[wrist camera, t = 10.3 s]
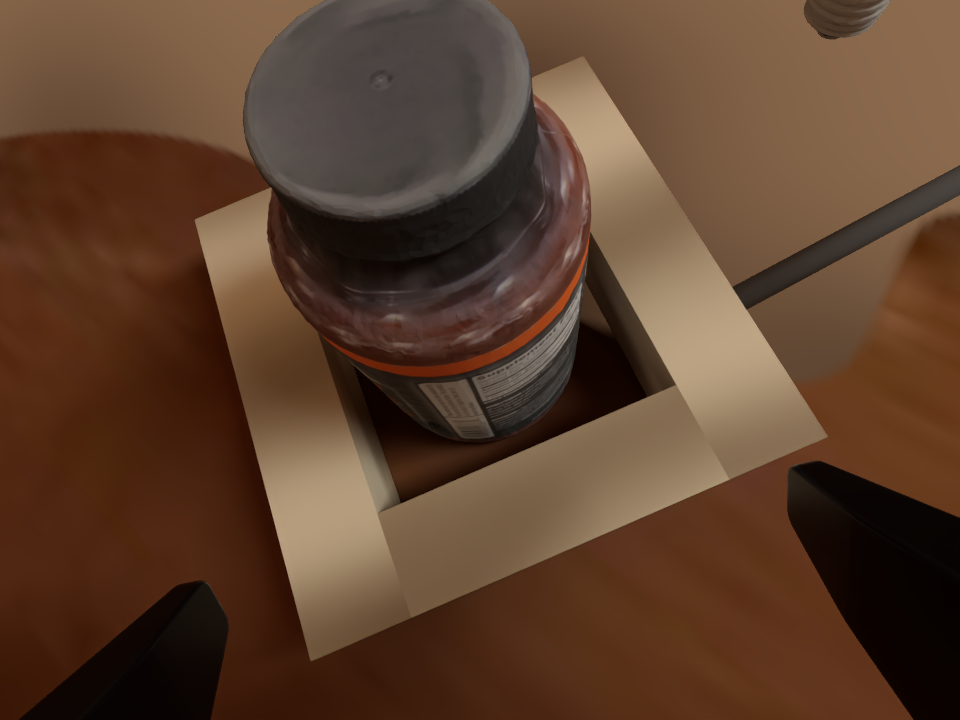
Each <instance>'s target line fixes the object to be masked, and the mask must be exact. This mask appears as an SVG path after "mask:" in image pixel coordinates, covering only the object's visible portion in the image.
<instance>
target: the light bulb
mask: <svg viewBox="0 0 960 720" xmlns="http://www.w3.org/2000/svg"><path fill="white" fill-rule="evenodd" d="M890 1H891V0H807V1H806V3H805V6H804V14H805V17H806V20H807V22H808V23H809V24H810V25H811V26H812V27H813V28H814V29H816V30H817V32H818V34H819V35H820V36H821V37H823V38H826V39H837V38H839V37H851V36H855V35H859V34H861V33H863V32H865V31H867V30H868V29H869V28H871V26H872V25H874V23H875V22H876V20H877V19H878V18H879V16H880V15H881V14H882V13H883V11H884V10H885V8H886V7H887V5H888V4H889V2H890Z"/></svg>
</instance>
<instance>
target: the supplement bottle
mask: <svg viewBox="0 0 960 720" xmlns="http://www.w3.org/2000/svg"><path fill="white" fill-rule="evenodd" d="M243 125H244V133H245V139H246V143H247V146H248V149H249V152H250V155H251V157H252V158H253V160H254V163H255V165H256V167H257V169H258V170H259V172H260V174H261V175H262V177H263V178H264V179H265V181H266V182H267V183H268V184H269V186H270V187H271V188H272V190H271V199H270V202H269V210H268V220H267V235H268V238H267V240H268V243H269V248H270V254H271V261H272V263H273V266H274V268H275V270H276V273H277V275H278V278H279V280H280V282H281V284H282V286H283V288H284V291H285V292H286V293H287V295H288V296H289V298H290V299H291V301H292V303H293V305H294V307H295V308H297V309H298V310H299V312H300V313H301V314H302V315H303V317H304V318H305V320H306V321H307V322H308V323H310V324H311V325H312V326H313V328H314V329H315V330H316V331H318V332H319V333H320V334H321V335H322V336H323V337H324V338H325V339H326V340H327V342H328V343H329V344H330V345H331V346H332V347H333V348H334V349H336V350H337V351H339V352H340V353H341V354H342V355H343V356H344V357H345V358H346V359H348V360H349V361H350V363H352V364H353V365H354V366H355V367H356V368H357V369H359V370H360V371H361V372H362V373H363V374H364V375H365V376H366V377H367V378H369V379H370V380H371V381H372V382H373V383H374V384H375V385H376V386H377V387H378V388H379V389H380V390H381V391H382V392H383V393H385V394H386V395H387V396H388V397H389V398H390V399H391V400H392V401H393V402H394V403H395V404H396V405H397V406H398V407H400V409H401V410H402V411H403V412H404V413H406V414H407V415H409V416H410V417H411V418H412V419H413V420H414V421H416V422H417V423H418V424H420V425H421V426H423V427H424V428H426V429H428V430H430V431H432V432H434V433H436V434H438V435H440V436H442V437H445V438H448V439H453V440H456V441H462V442H490V441H497V440H501V439H506V438H508V437H511V436H514V435H516V434H518V433H521V432H523V431H524V430H526V429H527V428H529V427H531V426H532V425H534V424H535V423H537V422H538V421H539V420H540V419H541V418H543V417H544V416H545V415H546V414H547V413H548V412H549V411H550V409H551V408H552V407H553V406H554V405H555V403H556V402H557V401H558V399H559V397H560V396H561V394H562V393H563V390H564V388H565V386H566V385H567V383H568V381H569V378H570V375H571V370H572V368H573V363H574V358H575V353H576V344H577V338H578V329H579V320H580V313H581V305H582V297H583V290H584V281H585V276H586V265H587V260H588V245H589V237H590V228H591V195H590V184H589V180H588V175H587V170H586V165H585V163H584V160H583V157H582V154H581V152H580V150H579V148H578V146H577V143H576V142H575V140H574V138H573V136H572V135H571V133H570V131H569V130H568V128H567V127H566V125H565V124H564V122H563V121H562V120H561V119H560V118H559V117H558V115H557V114H556V113H555V112H554V111H553V110H552V109H551V108H550V107H549V106H548V105H547V104H546V103H545V102H543V101H542V100H541V99H540V98H538V97H537V96H536V95H535V94H534V93H533V89H532V76H531V69H530V64H529V60H528V56H527V52H526V48H525V46H524V45H523V43H522V41H521V39H520V37H519V35H518V32H517V30H516V28H515V27H514V25H513V24H512V22H511V21H510V20H509V19H508V18H506V17H505V16H504V15H502V13H501V12H500V11H499V10H498V9H497V8H496V7H495V6H494V5H493V4H491V3H490V2H489V1H487V0H325V1H323V2H321V3H319V4H318V5H316V6H314V7H312V8H310V9H309V10H308V11H307V12H305V13H304V14H302V15H300V16H298V17H297V18H296V19H295V20H294V21H293V22H291V23H290V24H289V25H288V26H287V27H286V28H285V29H284V30H283V31H282V32H281V33H280V34H279V35H278V36H277V37H276V38H275V39H274V41H273V42H272V43H271V44H270V45H269V46H268V47H267V48H266V50H265V51H264V53H263V54H262V56H261V58H260V59H259V61H258V63H257V65H256V67H255V69H254V72H253V74H252V76H251V79H250V81H249V84H248V87H247V90H246V92H245V103H244V110H243Z"/></svg>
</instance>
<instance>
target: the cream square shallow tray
mask: <svg viewBox="0 0 960 720" xmlns="http://www.w3.org/2000/svg"><path fill="white" fill-rule="evenodd" d="M532 89H533V93H534V94H535V95H536V96H537V97H538V98H540V99H541V100H542V101H543V102H545V103H546V104H547V105H548V106H549V107H550V108H551V109H552V110H553V111H554V112H555V113H556V114H557V115H558V117H559V118H560V119H561V120H562V121H563V122H564V124H565V125H566V127H567V128H568V130H569V131H570V133H571V135H572V136H573V138H574V140H575V142H576V143H577V146H578V148H579V150H580V152H581V154H582V157H583V160H584V163H585V165H586V170H587V175H588V180H589V184H590V195H591V228H590V237H589V245H588V260H587V265H586V276H585V282H586V283H587V285H588V287H589V289H590V291H591V293H592V295H593V297H594V298H595V300H596V302H597V304H598V306H599V308H600V310H601V312H602V313H603V315H604V317H605V319H606V321H607V323H608V325H609V326H610V328H611V330H612V332H613V334H614V336H615V338H616V339H617V341H618V343H619V345H620V347H621V349H622V351H623V353H624V354H625V356H626V358H627V360H628V362H629V364H630V366H631V367H632V369H633V371H634V373H635V375H636V377H637V379H638V380H639V382H640V384H641V386H642V388H643V390H644V392H645V393H646V395H647V398H645V399H642V400H640V401H638V402H635V403H633V404H631V405H628V406H626V407H624V408H621V409H619V410H617V411H615V412H612V413H610V414H608V415H605V416H603V417H601V418H598V419H596V420H594V421H591V422H589V423H587V424H584V425H582V426H580V427H577V428H575V429H573V430H571V431H568V432H566V433H564V434H561V435H559V436H557V437H554V438H552V439H550V440H547V441H545V442H543V443H540V444H538V445H536V446H533V447H531V448H529V449H526V450H524V451H522V452H520V453H517V454H515V455H513V456H510V457H508V458H506V459H503V460H501V461H499V462H496V463H494V464H492V465H489V466H487V467H485V468H482V469H480V470H478V471H476V472H473V473H471V474H469V475H466V476H464V477H462V478H459V479H457V480H455V481H452V482H450V483H448V484H445V485H443V486H441V487H438V488H436V489H434V490H432V491H429V492H427V493H425V494H422V495H420V496H418V497H415V498H413V499H411V500H408V501H406V502H404V503H401V502H400V499H399V496H398V493H397V490H396V487H395V485H394V482H393V479H392V476H391V473H390V470H389V467H388V464H387V461H386V459H385V456H384V453H383V450H382V447H381V444H380V441H379V438H378V435H377V433H376V430H375V427H374V424H373V421H372V418H371V415H370V412H369V409H368V406H367V404H366V401H365V398H364V395H363V392H362V389H361V386H360V383H359V380H358V378H357V375H356V372H355V369H354V366H353V364H352V363H350V361H349V360H348V359H346V358H345V357H344V356H343V355H342V354H341V353H340V352H339V351H337V350H336V349H334V348H333V347H332V346H331V345H330V344H329V343H328V342H327V340H326V339H325V338H324V337H323V336H322V335H321V334H320V333H319V332H318V331H316V330H315V329H314V328H313V326H312V325H311V324H310V323H308V322H307V321H306V320H305V318H304V317H303V315H302V314H301V313H300V312H299V310H298V309H297V308H295V307H294V305H293V303H292V301H291V299H290V298H289V296H288V295H287V293H286V292H285V291H284V288H283V286H282V284H281V282H280V280H279V278H278V275H277V273H276V270H275V268H274V266H273V263H272V261H271V254H270V248H269V243H268V240H267V238H268V235H267V220H268V210H269V202H270V199H271V190H272V188H269V189H266V190H264V191H262V192H259V193H257V194H255V195H252V196H250V197H247V198H245V199H243V200H240V201H238V202H236V203H233V204H231V205H228V206H226V207H224V208H221V209H219V210H217V211H214V212H212V213H209V214H207V215H205V216H202V217H200V218H198V219H195V222H196V226H197V230H198V234H199V238H200V241H201V245H202V249H203V253H204V257H205V260H206V264H207V268H208V272H209V276H210V279H211V283H212V287H213V291H214V295H215V299H216V302H217V306H218V310H219V314H220V318H221V321H222V325H223V329H224V333H225V337H226V340H227V344H228V348H229V352H230V356H231V359H232V363H233V367H234V371H235V375H236V379H237V382H238V386H239V390H240V394H241V398H242V401H243V405H244V409H245V413H246V417H247V420H248V424H249V428H250V432H251V436H252V439H253V443H254V447H255V451H256V455H257V458H258V462H259V466H260V470H261V474H262V478H263V481H264V485H265V489H266V493H267V497H268V500H269V504H270V508H271V512H272V516H273V519H274V523H275V527H276V531H277V535H278V538H279V542H280V546H281V550H282V554H283V557H284V561H285V565H286V569H287V573H288V577H289V580H290V584H291V588H292V592H293V596H294V599H295V603H296V607H297V611H298V615H299V618H300V622H301V626H302V630H303V634H304V637H305V641H306V645H307V649H308V653H309V656H310V660H311V661H313V660H316V659H318V658H320V657H322V656H325V655H327V654H329V653H332V652H334V651H336V650H339V649H341V648H343V647H345V646H348V645H350V644H352V643H355V642H357V641H359V640H362V639H364V638H366V637H368V636H371V635H373V634H375V633H378V632H380V631H382V630H385V629H387V628H389V627H391V626H394V625H396V624H398V623H401V622H403V621H405V620H408V619H410V618H412V617H414V616H417V615H419V614H421V613H424V612H426V611H428V610H431V609H433V608H435V607H437V606H440V605H442V604H444V603H447V602H449V601H451V600H454V599H456V598H458V597H460V596H463V595H465V594H467V593H470V592H472V591H474V590H477V589H479V588H481V587H483V586H486V585H488V584H490V583H493V582H495V581H497V580H499V579H502V578H504V577H506V576H509V575H511V574H513V573H516V572H518V571H520V570H522V569H525V568H527V567H529V566H532V565H534V564H536V563H539V562H541V561H543V560H545V559H548V558H550V557H552V556H555V555H557V554H559V553H562V552H564V551H566V550H568V549H571V548H573V547H575V546H578V545H580V544H582V543H585V542H587V541H589V540H591V539H594V538H596V537H598V536H601V535H603V534H605V533H608V532H610V531H612V530H614V529H617V528H619V527H621V526H624V525H626V524H628V523H631V522H633V521H635V520H637V519H640V518H642V517H644V516H647V515H649V514H651V513H654V512H656V511H658V510H660V509H663V508H665V507H667V506H670V505H672V504H674V503H677V502H679V501H681V500H683V499H686V498H688V497H690V496H693V495H695V494H697V493H700V492H702V491H704V490H706V489H709V488H711V487H713V486H716V485H718V484H720V483H723V482H725V481H727V480H729V479H732V478H734V477H736V476H739V475H741V474H743V473H746V472H748V471H750V470H752V469H755V468H757V467H759V466H762V465H764V464H766V463H769V462H771V461H773V460H775V459H778V458H780V457H782V456H785V455H787V454H789V453H792V452H794V451H796V450H798V449H801V448H803V447H805V446H808V445H810V444H812V443H815V442H817V441H819V440H821V439H824V438H826V437H828V436H827V435H826V433H825V432H824V430H823V428H822V427H821V425H820V424H819V422H818V421H817V419H816V418H815V416H814V414H813V413H812V411H811V410H810V408H809V407H808V405H807V404H806V402H805V400H804V399H803V397H802V396H801V394H800V393H799V391H798V389H797V388H796V386H795V385H794V383H793V382H792V380H791V379H790V377H789V375H788V374H787V372H786V371H785V369H784V368H783V366H782V365H781V363H780V362H779V360H778V358H777V357H776V355H775V354H774V352H773V351H772V349H771V347H770V346H769V344H768V343H767V341H766V340H765V338H764V337H763V335H762V334H761V332H760V330H759V329H758V327H757V326H756V324H755V323H754V321H753V319H752V318H751V316H750V315H749V313H748V312H747V310H746V308H745V307H744V305H743V304H742V302H741V301H740V299H739V298H738V296H737V294H736V293H735V291H734V290H733V288H732V287H731V285H730V284H729V282H728V280H727V279H726V277H725V276H724V274H723V273H722V271H721V270H720V268H719V266H718V265H717V263H716V262H715V260H714V259H713V257H712V256H711V254H710V252H709V251H708V249H707V248H706V246H705V245H704V243H703V242H702V240H701V238H700V237H699V235H698V234H697V232H696V231H695V229H694V227H693V226H692V224H691V223H690V221H689V220H688V218H687V217H686V215H685V213H684V212H683V210H682V209H681V207H680V206H679V204H678V203H677V201H676V200H675V198H674V196H673V195H672V193H671V192H670V190H669V189H668V187H667V186H666V184H665V182H664V181H663V179H662V178H661V176H660V175H659V173H658V172H657V170H656V168H655V167H654V165H653V164H652V162H651V161H650V159H649V158H648V156H647V154H646V153H645V151H644V150H643V148H642V146H641V145H640V143H639V142H638V140H637V139H636V137H635V136H634V134H633V132H632V131H631V129H630V128H629V126H628V125H627V123H626V122H625V120H624V118H623V117H622V115H621V114H620V112H619V111H618V109H617V108H616V106H615V105H614V103H613V101H612V100H611V98H610V97H609V95H608V94H607V92H606V90H605V89H604V87H603V86H602V84H601V83H600V81H599V79H598V78H597V77H596V75H595V73H594V72H593V70H592V69H591V67H590V66H589V64H588V62H587V61H586V59H585V58H584V56H582V57H580V58H577V59H575V60H573V61H570V62H568V63H566V64H563V65H561V66H558V67H556V68H554V69H551V70H549V71H547V72H544V73H542V74H539V75H537V76H535V77H532Z"/></svg>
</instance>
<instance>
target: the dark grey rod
mask: <svg viewBox="0 0 960 720" xmlns="http://www.w3.org/2000/svg"><path fill="white" fill-rule="evenodd" d="M959 195H960V166H958V167H956V168H954V169H952V170H950V171H949V172H947V173H945V174H943V175H941V176H939V177H937V178H935V179H934V180H932V181H930V182H928V183H926V184H924V185H922V186H920V187H919V188H917V189H915V190H913V191H911V192H909V193H907V194H905V195H904V196H902V197H900V198H898V199H896V200H894V201H892V202H890V203H889V204H887V205H885V206H883V207H881V208H879V209H877V210H876V211H874V212H872V213H870V214H868V215H866V216H864V217H863V218H861V219H859V220H857V221H855V222H853V223H851V224H849V225H847V226H846V227H844V228H842V229H840V230H838V231H836V232H834V233H833V234H831V235H829V236H827V237H825V238H823V239H821V240H819V241H818V242H816V243H814V244H812V245H810V246H808V247H806V248H805V249H803V250H801V251H799V252H797V253H795V254H793V255H792V256H790V257H788V258H786V259H784V260H782V261H780V262H778V263H776V264H775V265H773V266H771V267H769V268H767V269H765V270H763V271H762V272H760V273H758V274H756V275H754V276H752V277H750V278H749V279H747V280H745V281H743V282H741V283H739V284H737V285H735V286H734V287H732V288H733V290H734V291H735V293H736V294H737V296H738V298H739V299H740V301H741V302H742V304H743V305H744V307H745V308H746V310H747V309H749V308H750V307H752V306H754V305H756V304H758V303H760V302H762V301H764V300H765V299H767V298H769V297H771V296H773V295H775V294H777V293H778V292H780V291H782V290H784V289H786V288H788V287H790V286H791V285H793V284H795V283H797V282H799V281H801V280H802V279H804V278H806V277H808V276H810V275H812V274H813V273H816V272H818V271H819V270H821V269H823V268H825V267H827V266H829V265H831V264H832V263H834V262H836V261H838V260H840V259H841V258H843V257H845V256H847V255H849V254H851V253H853V252H855V251H856V250H858V249H860V248H862V247H864V246H866V245H868V244H869V243H871V242H873V241H875V240H877V239H879V238H880V237H883V236H884V235H886V234H888V233H890V232H892V231H893V230H896V229H897V228H899V227H901V226H903V225H905V224H907V223H909V222H911V221H912V220H914V219H916V218H918V217H920V216H922V215H924V214H925V213H927V212H929V211H931V210H933V209H935V208H937V207H938V206H940V205H942V204H944V203H946V202H948V201H950V200H951V199H953V198H955V197H957V196H959Z"/></svg>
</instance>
